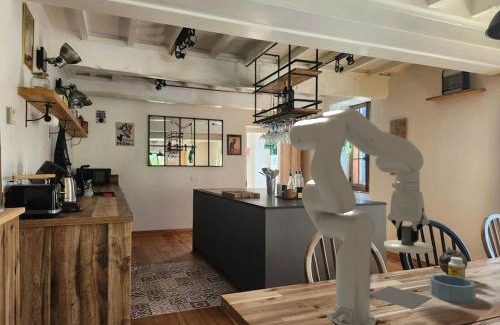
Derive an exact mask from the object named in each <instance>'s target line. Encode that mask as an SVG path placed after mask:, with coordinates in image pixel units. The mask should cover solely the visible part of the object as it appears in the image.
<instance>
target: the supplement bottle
mask: <svg viewBox="0 0 500 325" xmlns="http://www.w3.org/2000/svg"><path fill="white" fill-rule="evenodd" d="M448 275H451V276H457V277H461V278H465V279H466V269H465V265H464V264H463V259H462V258H459V257H451V262H449V263H448Z"/></svg>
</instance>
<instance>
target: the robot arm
mask: <svg viewBox="0 0 500 325" xmlns="http://www.w3.org/2000/svg"><path fill="white" fill-rule="evenodd" d="M288 136H289V141H290V143H291V145H292V146H293V147H294V148H295V149H297V150H298V151H314V153H313V156H312V159H311V162H310V167H309V173H310V176H311V180H309V181H307V182H305V184H304V186H303V188H302V189H301V201H302V204H303V208H304V209H305V210H306V212H307V215H308V216H309V218H310V220H311V221H312V223H313V225H314V227H315V229H316V230H317V231H318V232H319V233H320V235H321V236H323V237H326V238H328V239H334V240H338V241H341V242H342V244H341V246H340V247H339V248H338V250H337V253H336V257H335V304H334V308H333V309H332V310H331V311H330V312H329V313H327V314H326V318H327V320H328V321H332V322H333V323H335V324H336V325H376V323H377V318H376V317H375V315H374V314H373V313H371V296H370V294H371V258H372V257H371V252H372V243H373V240H374V235H375V221H374V219H373V217H372V215H371V214H369V213H368V212H366V211H362V210H360V209H355V207H356V205H357V203H356V202H357V199H356V195H355V192H354V190H353V188H352V186H351V184H350V182H349V179H348V177H347V175H346V174H345V172H344V169H343V166H342V162H341V160H342V159H341V156H342V153H343V148H344V144H345V141H347V142H348V143H349V144H351V145H352V146H353V147H354V148H355V149H357V150H358V151H360V153H363V154H365V155H369V156H372V157H375V166H376V167H377V169H378V170H379V171H381V172H383V173H389V174H391V173H392V174H393V173H395V181H394V182H393V183H392V184H391V187H392V188H394V189H395V190H392V194H391V200H390V205H389V206H390V207H389V214H388V215H387V216H386V219H387V220H388V221H389V222H391V224H392V225H394V226H395V229H396V238H397V240H399V241H400V240H401V226H404V222H409V223H412V224H411V226H413V231H412V243H415V242H417V241H418V242H419V239H420V237H419V235H420V234H419V233H420V230H421V229H423V227H425V226H427V225H429V224H430V222H431V221H430V220H429V218H428V216H427V215H426V214H425V212H426V210H425V203H424V202H425V201H424V196H423V192H422V191H421V188H420V187H421V186H420V184H421V182H420V180H421V178H420V177H421V176H420V170H421V169H422V168H423V165H424V156H423V154H422V153H421V152H422V151H420V150H419V148H418V147H417V146H416V145H415V144H414V143H413V142H412V141H410V140H408V139H406V138H404V137H401V136H399V135H396V134H392V133H390V132H387V131H384V130H381V129H379V128H378V127H377V126H376V125H375V124H374V123H373V122H371V121H370V120H369V118H367V117H366V116H365V115H364V114H362V112H360V111H359V110H358V109H355V108H351V107H350V108H341V109H335V110H330V111H326V112H325V111H324V112H322V113H320V114H317V115H313V116H311V117H308V118H306V119H302V120H299V121H297V122H295V123H294V124H293V125H292V127H291V128H290V131H289V135H288Z"/></svg>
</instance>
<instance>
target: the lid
mask: <svg viewBox="0 0 500 325" xmlns="http://www.w3.org/2000/svg"><path fill="white" fill-rule="evenodd" d="M412 231H413V226H412V225H402V226H401V240H400V241H399V240H398V239H388V240H385V241H383V247H384V248H385V249H387V250H390V251H393V252H400V253H404V254H405V253H406V254H428V253H432V252H433V249H434V247H433V245H432V244H429V243H427V242H422V241H419V240H418V241H417V242H415V243H412Z"/></svg>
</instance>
